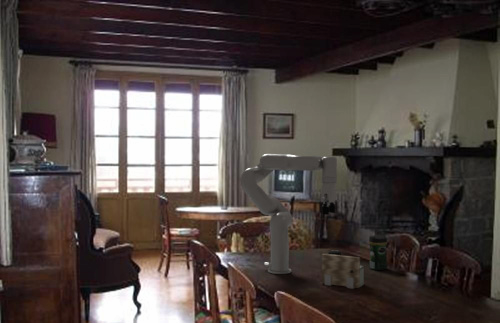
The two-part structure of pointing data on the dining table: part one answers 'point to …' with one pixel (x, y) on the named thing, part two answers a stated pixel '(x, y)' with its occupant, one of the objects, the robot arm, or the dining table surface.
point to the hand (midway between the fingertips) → (328, 213)
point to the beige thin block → (341, 269)
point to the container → (334, 252)
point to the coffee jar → (378, 252)
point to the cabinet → (349, 280)
